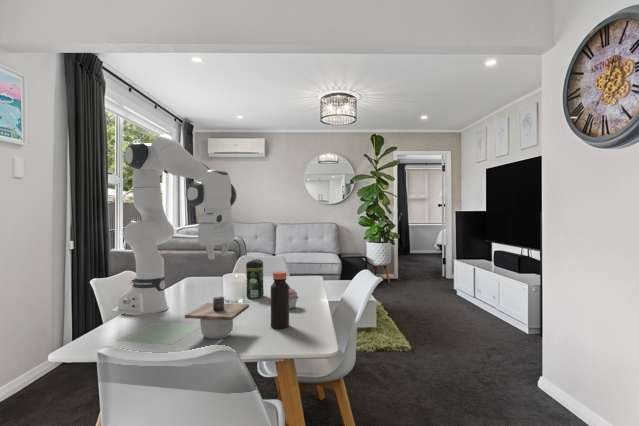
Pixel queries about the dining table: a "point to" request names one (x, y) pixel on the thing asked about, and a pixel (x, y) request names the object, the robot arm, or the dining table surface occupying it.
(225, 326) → the teacup
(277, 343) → the dining table surface
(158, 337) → the mat
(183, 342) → the dining table surface
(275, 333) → the dining table surface
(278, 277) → the bottle
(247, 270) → the coffee jar
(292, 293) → the cupcake
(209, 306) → the lid
